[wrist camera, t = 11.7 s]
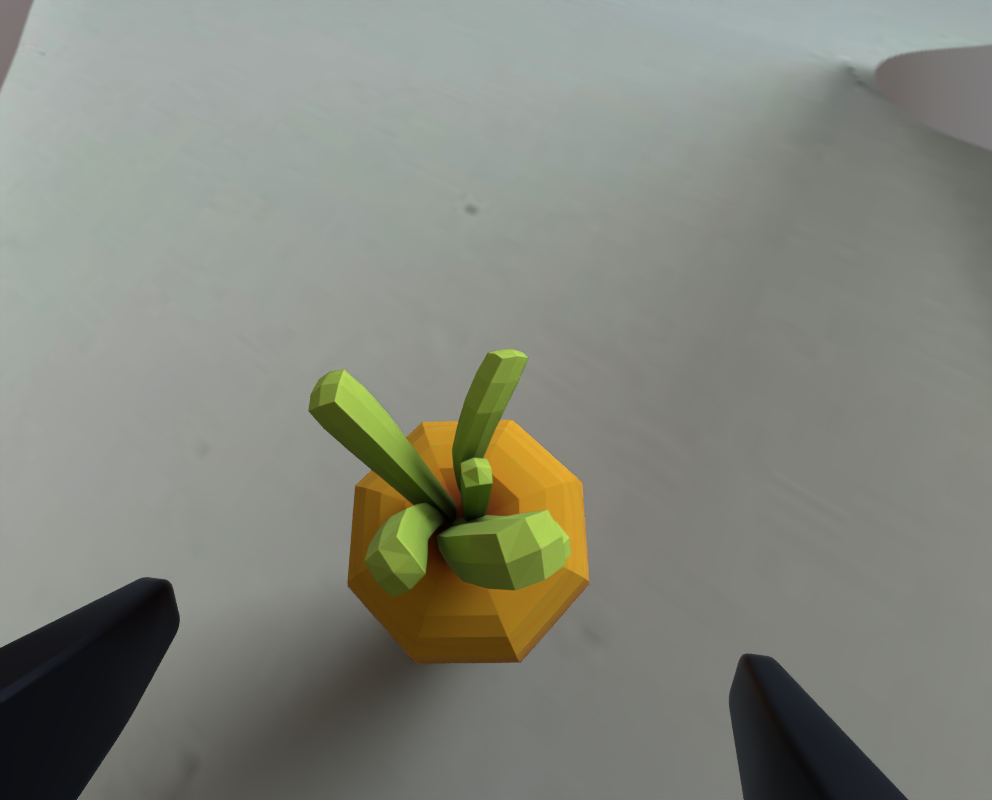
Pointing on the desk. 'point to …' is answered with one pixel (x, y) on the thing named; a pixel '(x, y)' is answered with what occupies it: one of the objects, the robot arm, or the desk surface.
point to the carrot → (459, 522)
